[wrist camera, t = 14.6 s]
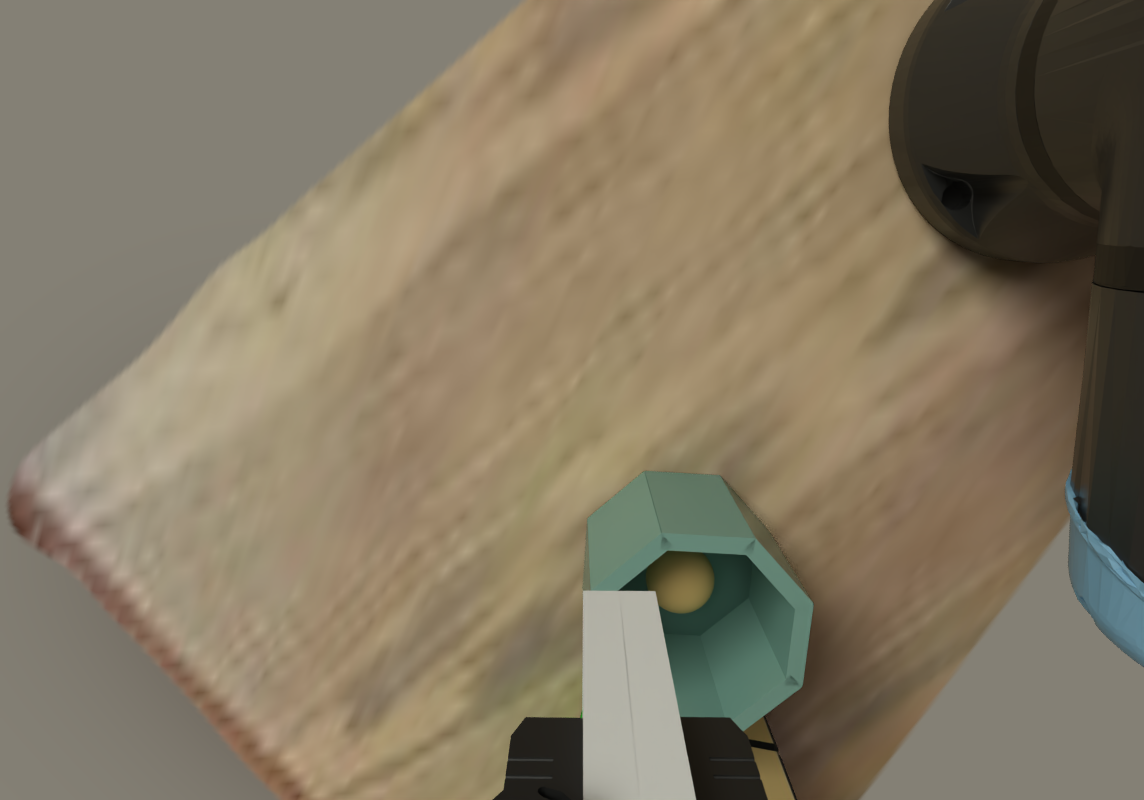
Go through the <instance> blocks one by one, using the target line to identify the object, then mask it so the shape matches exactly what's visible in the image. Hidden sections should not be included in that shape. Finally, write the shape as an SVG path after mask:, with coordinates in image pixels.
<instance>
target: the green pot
mask: <svg viewBox="0 0 1144 800" xmlns="http://www.w3.org/2000/svg"><path fill="white" fill-rule="evenodd" d="M668 550H669V551H686V552H702V553H703V554H704V555H705V556H706V557H707V558H708V560H709V562H710V563H711V565H712V568H713V572H714V578H715V579H714V588H713V591H712V594H711V596H710V598H709V599H708V601H707V602H706V603H705V604H704V605H703V606H702V607H700V608H699V609H697V610H695V611H693V612H689V613H673V612H670V611H667V610H665V609H663V608H662V607H660V606H659V605H658V607H659V612H660V617H661V622H662V627H663V633H664V638H665V643H666V648H667V653H668V658H669V663H670V668H671V674H672V679H673V684H674V689H675V694H676V699H677V704H678V710H679V715H680V717H730V718H731V719H732V720H733V721H734V722H735V723H736V724H737V726H738V727H739V728H740V729H741V730H742V731H744V730H746V729H747V728H748V727H750V726H751V725H752V724H754V723H755V722H756V721H758V720H759V719H760V718H762V717H763V716H764V715H766V714H767V713H768V712H770V711H771V710H772V709H774V708H775V707H776V706H778V705H779V704H780V703H782V702H783V701H784V700H785V699H787V698H788V697H789V696H791V695H792V694H793V693H795V692H796V691H797V690H799V689H800V688H801V687H802V686H803V679H804V672H805V664H806V657H807V649H808V642H809V635H810V627H811V620H812V613H813V605H814V604H813V602H812V600H811V598H810V597H809V595H808V594H807V592H806V590H805V589H804V587H803V586H802V584H801V582H800V581H799V579H798V578H797V576H796V574H795V573H794V571H793V570H792V568H791V566H790V565H789V563H788V562H787V560H786V558H785V557H784V555H783V553H782V552H781V550H780V549H779V547H778V545H777V544H776V542H775V541H774V539H773V537H772V536H771V534H770V533H769V531H768V529H767V528H766V527H765V526H764V525H763V523H762V522H761V521H760V520H759V519H758V518H757V517H756V516H755V514H754V513H753V512H752V511H751V510H750V509H749V508H748V506H747V505H746V504H745V503H744V502H743V501H742V500H741V499H740V497H739V496H738V495H737V494H736V493H735V492H734V491H733V490H732V488H731V487H730V486H729V485H728V484H727V483H726V482H725V480H724V479H723V478H722V477H721V476H720V475H706V474H689V473H672V472H655V471H645V472H642V473H641V474H640V475H639V476H638V477H636V478H635V479H634V480H633V481H632V482H630V483H629V484H628V485H627V486H626V487H624V488H623V489H622V490H621V491H620V492H618V493H617V494H616V495H615V496H614V497H612V498H611V499H610V500H609V501H608V502H606V503H605V504H604V505H603V506H602V507H600V508H599V509H598V510H597V511H596V512H594V513H593V514H592V515H591V516H590V517H588V519H587V531H586V546H585V560H584V575H583V591H648V588H647V585H646V571H647V567H648V566H649V565H650V564H651V563H653V562H654V561H655V560H656V559H658V558H659V557H660V556H661V555H663V554H664V553H665V552H666V551H668Z"/></svg>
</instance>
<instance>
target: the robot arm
mask: <svg viewBox="0 0 1144 800" xmlns="http://www.w3.org/2000/svg"><path fill="white" fill-rule="evenodd" d="M889 133H890V142H891V148H892V153H893V158H894V161H895V165H896V168H897V171H898V174H899V177H900V179H901V181H902V183H903V186H904V188H905V190H906V191H907V193H908V195H909V197H910V199H911V200H912V202H913V203H914V205H915V206H916V207H917V209H918V210H919V211H920V213H921V214H922V215H923V216H924V217H925V218H926V219H927V221H928V222H929V223H930V224H931V225H932V226H934V227H935V228H936V229H937V230H938V231H939V232H941V233H942V234H943V235H944V236H946V237H947V238H949V239H950V240H952V241H953V242H955V243H957V244H959V245H960V246H962V247H964V248H966V249H969V250H971V251H973V252H976V253H979V254H982V255H985V256H988V257H992V258H997V259H1003V260H1011V261H1022V262H1033V263H1055V262H1064V261H1072V260H1077V259H1082V258H1086V257H1090V256H1094V255H1096V257H1095V268H1094V278H1093V282H1092V287H1091V298H1090V308H1089V318H1088V329H1087V339H1086V350H1085V360H1084V371H1083V380H1082V388H1081V397H1080V405H1079V414H1078V423H1077V431H1076V440H1075V449H1074V457H1073V466H1072V469H1071V471H1070V474H1069V477H1068V479H1067V482H1066V487H1065V499H1066V503H1067V508H1068V511H1069V513H1070V532H1069V533H1070V534H1069V555H1068V567H1069V576H1070V580H1071V584H1072V587H1073V589H1074V592H1075V594H1076V596H1077V599H1078V600H1079V602H1080V603H1081V604H1082V605H1083V607H1084V608H1085V609H1086V610H1087V612H1088V613H1089V614H1090V615H1091V616H1092V618H1093V619H1094V622H1095V624H1096V626H1097V627H1098V628H1099V629H1100V630H1101V632H1102V633H1103V634H1104V635H1106V637H1107V638H1108V639H1109V640H1110V641H1112V642H1113V643H1114V644H1115V645H1116V646H1117V647H1118V648H1120V649H1121V650H1122V651H1123V652H1124V653H1125V654H1127V655H1128V656H1129V657H1131V658H1132V659H1133V660H1134V661H1136V662H1137V663H1138V664H1140V665H1141V666H1143V667H1144V0H934V1H933V2H932V4H931V5H930V6H929V7H928V9H927V10H926V11H925V13H924V14H923V15H922V17H921V18H920V20H919V22H918V23H917V25H916V26H915V28H914V30H913V32H912V33H911V35H910V37H909V39H908V41H907V43H906V45H905V47H904V50H903V52H902V55H901V57H900V60H899V63H898V66H897V69H896V72H895V76H894V81H893V85H892V91H891V96H890V106H889ZM493 800H768V798H767V795H766V792H765V789H764V786H763V783H762V780H760V773H759V770H758V767H757V764H756V762H755V757H754V754H753V751H752V748H751V745H750V742H749V739H748V736H747V735H746V734H745V733H744V732H743V731H742V730H741V729H740V728H739V727H738V726H737V724H736V723H735V722H734V721H733V720H732V719H731V718H730V717H680V715H679V710H678V704H677V699H676V694H675V689H674V684H673V679H672V674H671V668H670V663H669V658H668V653H667V648H666V643H665V638H664V633H663V627H662V622H661V617H660V612H659V607H658V602H657V597H656V592H655V591H583V682H582V718H541V717H526V718H525V719H524V720H523V721H522V723H521V724H520V725H519V726H518V728H517V729H516V730H515V732H514V733H513V734H512V735H511V740H510V748H509V755H508V762H507V769H506V779H505V784H504V790H503V791H502V792H501V793H500V794H499V795H497V796H496V797H495V798H494V799H493Z"/></svg>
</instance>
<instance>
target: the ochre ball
mask: <svg viewBox="0 0 1144 800" xmlns="http://www.w3.org/2000/svg"><path fill="white" fill-rule="evenodd" d="M714 579H715V578H714V572H713V568H712V565H711V563H710V562H709V560H708V558H707V557H706V556H705V555H704V554H703V553H702V552H686V551H669V550H668V551H666V552H665V553H664V554H663V555H661V556H660V557H659V558H658V559H656V560H655V561H654V562H653V563H651V564H650V565H649V566H648V567H647V571H646V585H647V588H648V591H655V592H656V597H657V602H658V605H659V606H660V607H662V608H663V609H665V610H667V611H670V612H673V613H689V612H693V611H695V610H697V609H699V608H700V607H702V606H703V605H704V604H705V603H706V602H707V601H708V599H709V598H710V596H711V594H712V591H713V588H714Z"/></svg>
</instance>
